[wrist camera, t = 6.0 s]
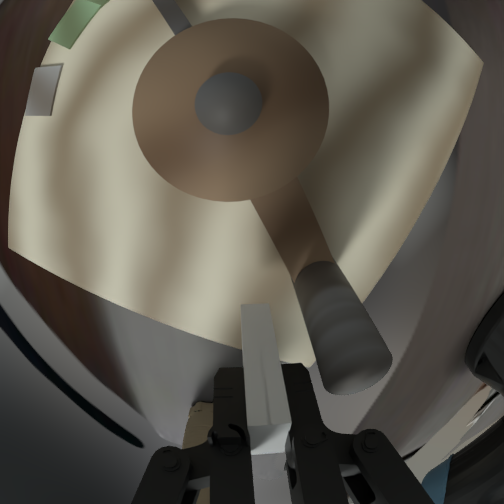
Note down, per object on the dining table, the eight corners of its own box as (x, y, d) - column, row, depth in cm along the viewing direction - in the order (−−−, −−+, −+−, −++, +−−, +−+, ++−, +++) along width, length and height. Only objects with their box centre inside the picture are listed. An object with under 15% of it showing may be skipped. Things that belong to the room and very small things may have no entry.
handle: (167, 401, 24) (149, 534, 10) (223, 389, 23) (222, 542, 10) (192, 422, 26) (184, 540, 12) (244, 412, 25) (250, 543, 12)
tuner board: (473, 63, 11) (485, 62, 10) (306, 357, 22) (310, 369, 20) (153, -85, 5) (149, -94, 4) (14, 239, 16) (4, 247, 14)
